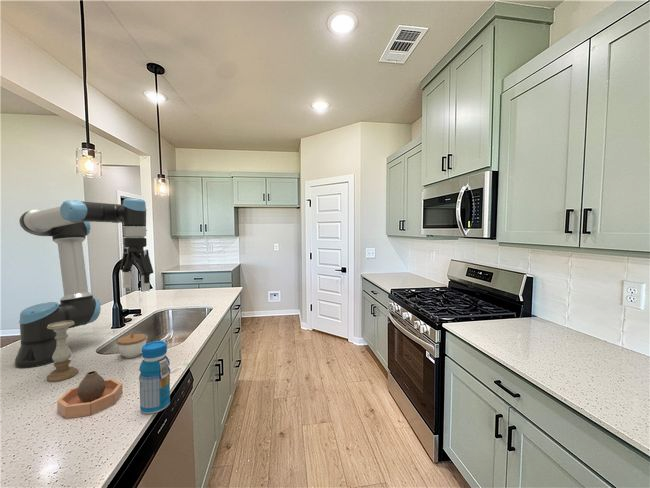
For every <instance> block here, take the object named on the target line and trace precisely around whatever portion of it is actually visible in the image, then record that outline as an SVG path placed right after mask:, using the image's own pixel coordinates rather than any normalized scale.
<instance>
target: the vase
mask: <svg viewBox="0 0 650 488" xmlns="http://www.w3.org/2000/svg"><path fill="white" fill-rule="evenodd" d="M104 380H105V378H103V376H102V375H100V374H99V373H98V372H97V371H96V370H91V371H89V372H87V373H86V374H85V376H84V377H83V379H82V380H81V381H80V382H79V385H78V386H79V387H78V386H77V387H78V397H79V399H80V400H81V401H83V402H86V403H87V402H92V401H94V400H97V399H99V398H100V397H101V396H102V394H103V393H104V390H105V381H104Z"/></svg>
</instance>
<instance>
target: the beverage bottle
mask: <svg viewBox="0 0 650 488" xmlns="http://www.w3.org/2000/svg"><path fill="white" fill-rule="evenodd" d="M167 352H168V344H167V342H166V341H164V340H156V341H151V342H148V343H147V342H146V344H145V345H143V347H142V352H141V357H142V359H143V360H142V361H141V363H140V365H139V369H138V371H139V376H138V381H139V404H140V405H139V410H140V412H141V413H142V414H147V415H149V414H150V415H151V414H156V413H159V412H162V411H163V410H165V409H166V408H167V407H169V406H170V404H171V382H170V381H171V379H170V376H171V374H170V371H171V368H170V367H169V366H170V362H171V361H170V359H169V358H168V356H167V355H166V354H167Z"/></svg>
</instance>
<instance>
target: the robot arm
mask: <svg viewBox="0 0 650 488" xmlns="http://www.w3.org/2000/svg"><path fill="white" fill-rule="evenodd" d="M146 205H147V204H146V201H145V199H140V198H131V197H129V198H124V199H123V203H122V204H121V203H120V204H119V203H118V204H117V203H116V204H115V203H107V202H106V203H105V202H95V201H94V202H93V201H81V200H77V199H76V200H69V199H68V200H65V201H63V202H62V203H61V204H60V205H59V206H55V207H51V208H47V209H40V208H39V209H31V210H28V211H25V212H24V213H22V214H21V216H19V217H20V218H19V222H18V223H19V226H20V227H21V228H22V229H23V231H24V232H26V233H28V234H31V235H33V236H38V237H52V242H54V243H55V244H57V249H58V257H59V266H60V274H61V282H62V290H63V296H62V297H61V298H60V299H59V302H60V303H58V301H57V302H56V301H50V302H43V303H38V304H35V305H31V306H28V307H25V309H22V310H21V312H20V314H19V320H18V321H19V322H18V323H19V332H20V347H19V348H18V349H19V350H18V351H17V355H16V357H15V358H14V359H15V360H14V364H15V367H16V368H21V369H25V368H26V369H27V368H34V367H39V366H40V367H42V366H44V365H48V364H51V363H55V361H53V359H52V356H53V353H54V351H55V349H56V345H57V341H56V339H54V338H55V337H56V332H54V329H47V326H48V325H49V324H51V323H55V322H60V321H74V322H75V324H74V325H72V326H70V327H69V329H72V328H76V327H80V326H85V325H89V324H92V323H94V322H95V321H97V320H98V318H99V317H100V314H101V309H102V308H101V302H100V301H99V299H98V298H96V297H94V294H93V293H91V292H89V289H88V288H89V287H88V279H87V272H86V263H85V255H84V248H83V242H84V241H85V240H86V237H87V236H89V234H90V233H91V224H90V223H91V222H94V223H95V222H96V223H97V222H98V223H111V224H115V223H116V224H120V223H123V237H124V239H123V240H124V241H123V246H124V247H125V248H123V253H122V258H121V261H120V266H119V271H122V275H123V276H122V278H123V279H122V280H123V288H124V289H127V288H132V267H133V265H134V263H135V262H136V263H137V265H138V267H139V269H140V271H141V274H140V277H141V279H140V280H141V283H140V285H141V292H142V293H144V292H149V291H151V288H150V287H151V286H150V285H151V283H150V282H151V281H150V280H151V278H150V276H151V274H154V270H153V269H154V268H153V265H152V263H151V258H150V255H149V250H148V249H144V248H146V247H147V242H148V241H147V238H146V237H147V231H148V229H147V206H146Z"/></svg>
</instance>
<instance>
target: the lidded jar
mask: <svg viewBox="0 0 650 488" xmlns="http://www.w3.org/2000/svg"><path fill="white" fill-rule="evenodd" d="M116 344H117V348H118V352H119V354H120V355H121V356H122V357H124V359H133V358H137V357H139V356H140V355H141V354H142V347H143V345H145V344H147V334H144V333H132V334H129V335H124V336H122V337H120V338H118V339H117V343H116ZM140 353H141V354H140Z"/></svg>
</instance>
